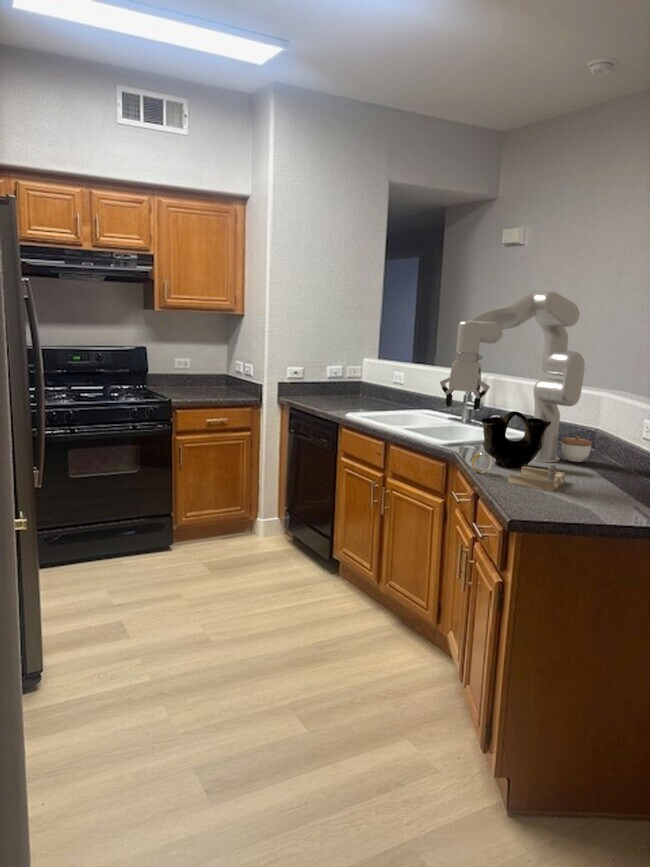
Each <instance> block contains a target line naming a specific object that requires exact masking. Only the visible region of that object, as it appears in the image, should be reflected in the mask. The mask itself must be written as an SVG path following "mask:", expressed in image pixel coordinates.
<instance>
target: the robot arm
mask: <svg viewBox="0 0 650 867" xmlns="http://www.w3.org/2000/svg"><path fill="white" fill-rule="evenodd" d="M532 318H534V320H535V321H536V323H537V324H538V325H539V326H540V329H541V330H542V332H543V335H544V338H543V339H544V340H543V350H542V356H541V370H542V372H543V373H544V374H546V375H552V376H559V377H563V379H559V378H551V377H550V378H549V377H547V378H545V377H544V378H541V379H538V380H537V381H536V382H535V384H534V386H533V399H534V413H533V418H537V419H542V420H544V421H546V422H547V421H548V422H551V424H550V425H549V426H548V427H547V429H546V430H545V432H544V434H543V437H542V447H541V449H540V451H539V452H538V454H537V455H536V457H535V458H534V459H533V460H532V461H533V462H540V463H547V462H554V463H558V461H559V462H560V461H561V460H560V459H561V458H560V457H559V456H557V449H558V438H559V430H560V421H561V414H560V413H561V412H560V410H559V407H558V406H563V407H574V406H575V405H576V404H578V402H579V401H580V399H581V398H580V397H581V396H582V395H581V394H582V390H583V382H584V376H585V358H584V356H583V355H582V354H581V353H580V352H577V351H573V350H568V344H569V334H568V331H567V329H566V328H570V327H572V326H575V325H576V324H577V323H578V322H579V319H580V309H579V307H578V305H577V304H576V303H574V302H573V301H571V300H570V299H569V298H567V297H565V296H563V295H561V294H560V293H558V292H555V291H550V290H549V291H548V290H547V291H545V290H543V291H542V290H541V291H539V290H538V291H537V290H536V291H535V290H534V291H529V292H526V293H524V294H523V295H521V296H520V297H518V298H516V299H515V300H513V301H511V302H509V303H508V304H505V305H504V306H499V307H497V308H494V309H492V310H488V311H485V312H482V313H480V314H478V315H476V316H474V317H472V318H471V319H470V320H462V321H460V322H459V323H458V327H457V337H456V338H457V340H456V351H455V360H453V362H452V365H451V369H450V374H449V377H448V378H445V379H443V380H440V381H439V384H440V387H441V389H442V391H443V392H444V395H446V396H445V404H446V407H448V408H449V407H452V405H453V392H454V391H458V392H467V393H473V394H474V396H475V398H474V400H473V401H474V402H473V410H474V411H478V410H479V408H480V406H481V399H482V398H483V397H484V396H485V395H486V394H487V392H488V391H489V389H490V388H491V386H490V385H489V384H488V383H486V382H484V381H483V380H482V368H481V367H482V365H481V362H479V361H480V360H481V361H482V360H483V355H480V345H481V344H486V345H487V344H488V345H493V344H496V343H498V342H499V341H501V339H502V337H503V333H504V332H503V330H510V329H514V328H518V327H520V326H521V325H522V324H524V323H525V322H527V321H529V320H531V319H532ZM447 383H448V387H447ZM481 387H483V389H482V391H480V390H481Z"/></svg>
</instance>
